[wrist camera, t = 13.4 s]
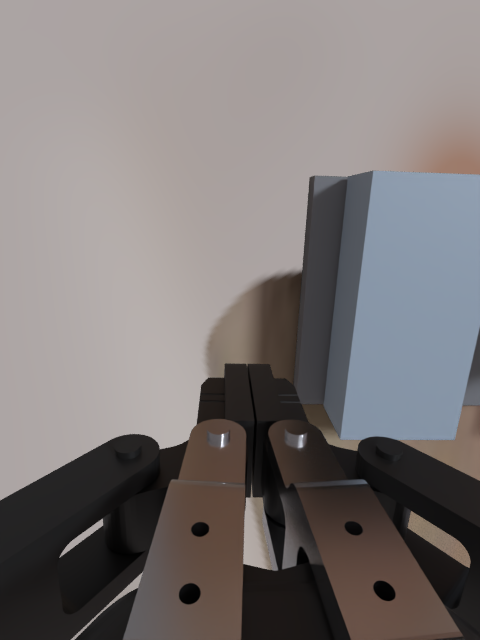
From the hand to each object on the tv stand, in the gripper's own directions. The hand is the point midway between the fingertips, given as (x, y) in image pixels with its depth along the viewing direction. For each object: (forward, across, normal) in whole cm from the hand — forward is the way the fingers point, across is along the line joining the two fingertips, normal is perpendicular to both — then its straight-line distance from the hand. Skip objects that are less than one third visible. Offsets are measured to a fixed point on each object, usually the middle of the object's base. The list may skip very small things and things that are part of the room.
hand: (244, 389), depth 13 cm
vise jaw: (+13, -11, 0) cm, 17 cm away
